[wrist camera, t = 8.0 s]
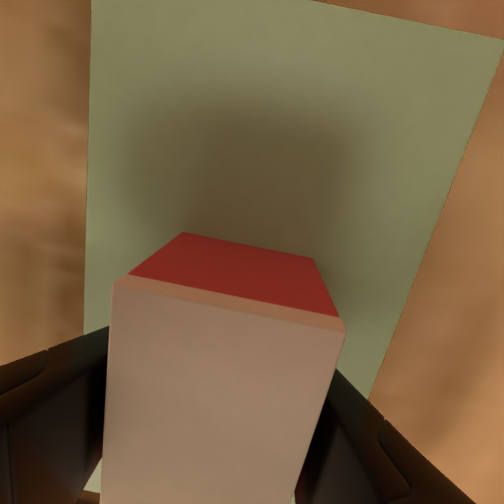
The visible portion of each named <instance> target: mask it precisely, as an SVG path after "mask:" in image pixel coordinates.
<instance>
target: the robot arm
mask: <svg viewBox="0 0 504 504" xmlns="http://www.w3.org/2000/svg"><path fill="white" fill-rule="evenodd" d="M109 327H110V325H109V326H106V327H104V328H101V329H98V330H96V331H93V332H91V333H88V334H85V335H83V336H80V337H77V338H75V339H72V340H69V341H67V342H64V343H62V344H59V345H56V346H54V347H51V348H49V349H48V350H43V351H40V352H38V353H35V354H32V355H30V356H27V357H24V358H21V359H19V360H16V361H13V362H10V363H8V364H5V365H2V366H0V504H75V503H76V501H77V499H78V498H79V496H80V494H81V492H82V491H83V489H84V487H85V486H86V484H87V482H88V480H89V479H90V477H91V475H92V474H93V472H94V470H95V469H96V467H97V465H98V463H99V462H100V460H101V458H102V453H103V435H104V417H105V399H106V381H107V363H108V345H109ZM294 497H295V504H476V503H475V502H474V501H472V500H471V499H470V498H469V497H468V496H467V495H466V494H465V493H464V492H462V491H461V490H460V489H459V488H458V487H457V486H456V485H455V484H454V483H452V482H451V481H450V480H449V479H448V478H447V477H446V476H445V475H444V474H442V473H441V472H440V471H439V470H438V469H437V468H436V467H435V466H434V465H433V464H432V463H431V462H429V461H428V460H427V459H426V458H425V457H424V456H423V455H422V454H421V453H420V452H419V451H418V450H416V449H415V448H414V447H413V446H412V445H411V444H410V443H409V442H408V441H407V440H406V439H405V438H404V437H403V436H402V435H401V434H400V433H399V432H398V431H397V430H396V429H395V428H394V427H393V426H392V425H391V424H390V423H389V422H388V421H387V420H386V419H385V420H384V417H383V416H382V414H381V413H380V412H379V411H378V410H377V409H376V408H375V407H374V406H373V405H372V404H371V403H370V402H369V401H368V400H367V399H366V398H365V397H364V396H363V395H362V394H361V393H360V392H359V391H358V390H357V389H356V388H355V387H354V386H353V385H352V384H351V383H350V382H349V381H348V380H347V379H346V378H345V377H344V376H343V375H342V374H341V372H340V371H339V370H338V369H337V368H335V371H334V374H333V377H332V380H331V383H330V386H329V389H328V392H327V395H326V398H325V401H324V404H323V407H322V410H321V413H320V416H319V419H318V422H317V425H316V428H315V431H314V434H313V437H312V440H311V443H310V446H309V449H308V452H307V455H306V458H305V461H304V464H303V466H302V469H301V472H300V475H299V478H298V481H297V484H296V487H295V490H294Z"/></svg>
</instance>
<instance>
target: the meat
mask: <svg viewBox="0 0 504 504" xmlns="http://www.w3.org/2000/svg"><path fill="white" fill-rule="evenodd" d="M346 335H347V330H346V328H345V325H344V323H343V321H342V319H341V318H339V314H338V312H337V310H336V308H335V306H334V304H333V301H332V299H331V297H330V295H329V293H328V291H327V288H326V286H325V284H324V282H323V280H322V278H321V275H320V273H319V271H318V269H317V267H316V265H315V262H314V260H313V259H312V258H308V257H303V256H298V255H293V254H288V253H284V252H279V251H274V250H269V249H264V248H259V247H254V246H249V245H244V244H240V243H235V242H230V241H225V240H220V239H215V238H210V237H205V236H200V235H196V234H191V233H186V232H182V233H180V234H179V235H178V236H176V237H175V238H174V239H172V240H171V241H170V242H168V243H167V244H166V245H164V246H163V247H162V248H160V249H159V250H158V251H156V252H155V253H154V254H152V255H151V256H150V257H148V258H147V259H146V260H144V261H143V262H142V263H140V264H139V265H138V266H136V267H135V268H134V269H132V270H131V271H130V272H129V273H128V274H125V275H123V276H122V277H120V278H119V279H118V280H116V281H115V282H114V283H113V284H112V291H111V309H110V327H109V345H108V363H107V381H106V399H105V417H104V435H103V453H102V472H101V490H100V504H290V502H291V499H292V496H293V493H294V490H295V487H296V484H297V481H298V478H299V475H300V472H301V469H302V466H303V464H304V461H305V458H306V455H307V452H308V449H309V446H310V443H311V440H312V437H313V434H314V431H315V428H316V425H317V422H318V419H319V416H320V413H321V410H322V407H323V404H324V401H325V398H326V395H327V392H328V389H329V386H330V383H331V380H332V377H333V374H334V371H335V368H336V365H337V362H338V359H339V356H340V353H341V350H342V347H343V344H344V341H345V338H346Z"/></svg>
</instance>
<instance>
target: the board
mask: <svg viewBox="0 0 504 504" xmlns="http://www.w3.org/2000/svg"><path fill="white" fill-rule="evenodd" d="M503 52H504V39H499V38H494V37H489V36H484V35H479V34H474V33H469V32H464V31H460V30H455V29H450V28H445V27H440V26H435V25H430V24H425V23H420V22H415V21H410V20H406V19H401V18H396V17H391V16H386V15H381V14H376V13H371V12H366V11H361V10H357V9H352V8H347V7H342V6H337V5H332V4H327V3H322V2H317V1H312V0H92V3H91V43H90V83H89V122H88V162H87V202H86V241H85V281H84V321H83V335H85V334H88V333H91V332H93V331H96V330H98V329H101V328H104V327H106V326H109V325H110V309H111V291H112V284H113V283H114V282H115V281H116V280H118V279H119V278H120V277H122V276H123V275H125V274H128V273H129V272H130V271H131V270H132V269H134V268H135V267H136V266H138V265H139V264H140V263H142V262H143V261H144V260H146V259H147V258H148V257H150V256H151V255H152V254H154V253H155V252H156V251H158V250H159V249H160V248H162V247H163V246H164V245H166V244H167V243H168V242H170V241H171V240H172V239H174V238H175V237H176V236H178V235H179V234H180V233H182V232H186V233H191V234H196V235H200V236H205V237H210V238H215V239H220V240H225V241H230V242H235V243H240V244H244V245H249V246H254V247H259V248H264V249H269V250H274V251H279V252H284V253H288V254H293V255H298V256H303V257H308V258H312V259H313V260H314V262H315V265H316V267H317V269H318V271H319V273H320V275H321V278H322V280H323V282H324V284H325V286H326V288H327V291H328V293H329V295H330V297H331V299H332V301H333V304H334V306H335V308H336V310H337V312H338V314H339V318H341V319H342V321H343V323H344V325H345V328H346V330H347V335H346V338H345V341H344V344H343V347H342V350H341V353H340V356H339V359H338V362H337V365H336V368H337V369H338V370H339V371H340V372H341V374H342V375H343V376H344V377H345V378H346V379H347V380H348V381H349V382H350V383H351V384H352V385H353V386H354V387H355V388H356V389H357V390H358V391H359V392H360V393H361V394H362V395H363V396H364V397H365V398H366V399H367V400H368V397H369V395H370V392H371V390H372V387H373V385H374V382H375V380H376V377H377V374H378V372H379V369H380V367H381V364H382V362H383V359H384V357H385V354H386V351H387V349H388V346H389V344H390V341H391V339H392V336H393V334H394V331H395V328H396V326H397V323H398V321H399V318H400V316H401V313H402V310H403V308H404V305H405V303H406V300H407V298H408V295H409V293H410V290H411V287H412V285H413V282H414V280H415V277H416V275H417V272H418V270H419V267H420V264H421V262H422V259H423V257H424V254H425V252H426V249H427V247H428V244H429V241H430V239H431V236H432V234H433V231H434V229H435V226H436V223H437V221H438V218H439V216H440V213H441V211H442V208H443V206H444V203H445V200H446V198H447V195H448V193H449V190H450V188H451V185H452V183H453V180H454V177H455V175H456V172H457V170H458V167H459V165H460V162H461V160H462V157H463V154H464V152H465V149H466V147H467V144H468V142H469V139H470V137H471V134H472V131H473V129H474V126H475V124H476V121H477V119H478V116H479V113H480V111H481V108H482V106H483V103H484V101H485V98H486V96H487V93H488V90H489V88H490V85H491V83H492V80H493V78H494V75H495V73H496V70H497V67H498V65H499V62H500V60H501V57H502V55H503ZM101 472H102V458H101V460H100V462H99V463H98V465H97V467H96V469H95V470H94V472H93V474H92V475H91V477H90V479H89V480H88V482H87V484H86V486H85V487H84V489H83V490H86V491H91V492H96V493H100V490H101ZM290 504H295V497H294V493H293V496H292V499H291V502H290Z"/></svg>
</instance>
